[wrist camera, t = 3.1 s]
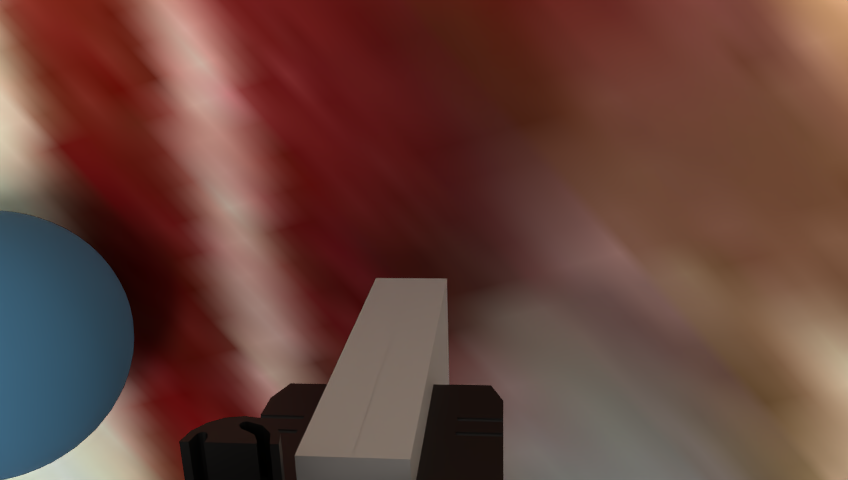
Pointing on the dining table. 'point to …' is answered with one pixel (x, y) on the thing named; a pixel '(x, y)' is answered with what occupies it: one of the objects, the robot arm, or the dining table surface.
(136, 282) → the dining table surface
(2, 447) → the ball
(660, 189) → the dining table surface
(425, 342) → the robot arm
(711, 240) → the dining table surface
